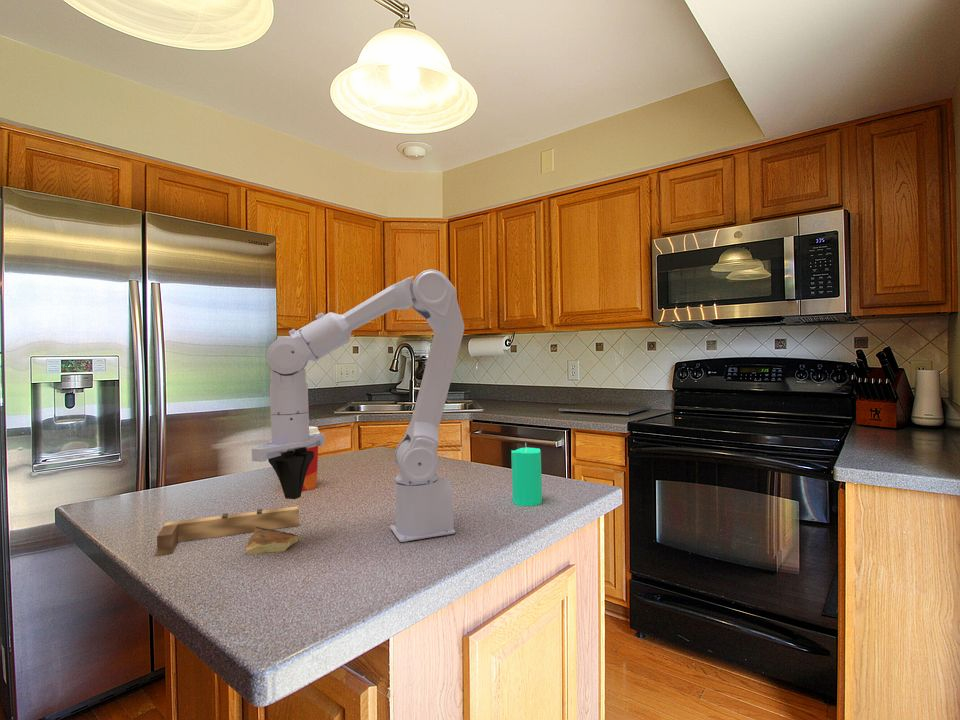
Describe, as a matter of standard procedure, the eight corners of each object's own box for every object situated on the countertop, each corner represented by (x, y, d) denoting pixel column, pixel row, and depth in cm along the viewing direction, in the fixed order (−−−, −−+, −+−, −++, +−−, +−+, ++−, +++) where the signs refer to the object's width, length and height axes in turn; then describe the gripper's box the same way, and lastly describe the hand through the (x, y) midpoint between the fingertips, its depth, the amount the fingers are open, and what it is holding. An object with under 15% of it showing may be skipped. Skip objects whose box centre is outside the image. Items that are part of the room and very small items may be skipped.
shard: (256, 535, 90) (256, 525, 90) (303, 530, 92) (302, 520, 92) (243, 558, 79) (243, 546, 79) (296, 552, 81) (296, 541, 81)
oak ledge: (298, 522, 95) (298, 504, 95) (300, 535, 88) (300, 515, 88) (166, 540, 87) (166, 520, 87) (157, 555, 80) (156, 534, 80)
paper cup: (281, 488, 121) (279, 428, 121) (312, 482, 126) (311, 425, 126) (295, 494, 115) (293, 431, 115) (327, 487, 120) (325, 427, 120)
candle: (534, 496, 108) (533, 439, 108) (547, 504, 103) (545, 443, 103) (508, 499, 106) (506, 441, 106) (519, 507, 101) (517, 446, 101)
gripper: (300, 408, 91) (303, 485, 91) (234, 418, 77) (237, 508, 77) (333, 408, 88) (336, 487, 88) (271, 418, 75) (275, 512, 75)
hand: (292, 497), depth 83 cm, fingers closed
